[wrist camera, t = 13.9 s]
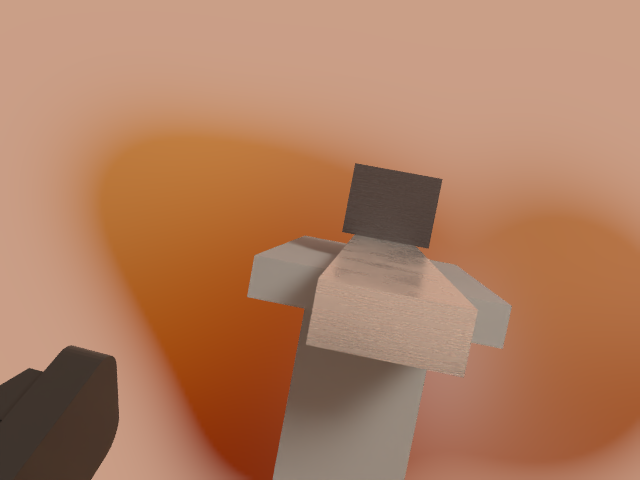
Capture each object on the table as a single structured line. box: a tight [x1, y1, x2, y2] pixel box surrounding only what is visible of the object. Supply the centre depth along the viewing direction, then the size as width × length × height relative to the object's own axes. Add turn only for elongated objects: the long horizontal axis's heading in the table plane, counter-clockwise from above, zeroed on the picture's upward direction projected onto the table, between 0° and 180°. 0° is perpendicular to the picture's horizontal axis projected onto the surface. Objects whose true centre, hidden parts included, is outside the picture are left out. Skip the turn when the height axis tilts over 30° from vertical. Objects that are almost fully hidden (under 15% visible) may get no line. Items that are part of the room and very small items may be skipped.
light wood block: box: [306, 164, 478, 377], centre depth 27 cm, size 28×5×6 cm, turn 174°
